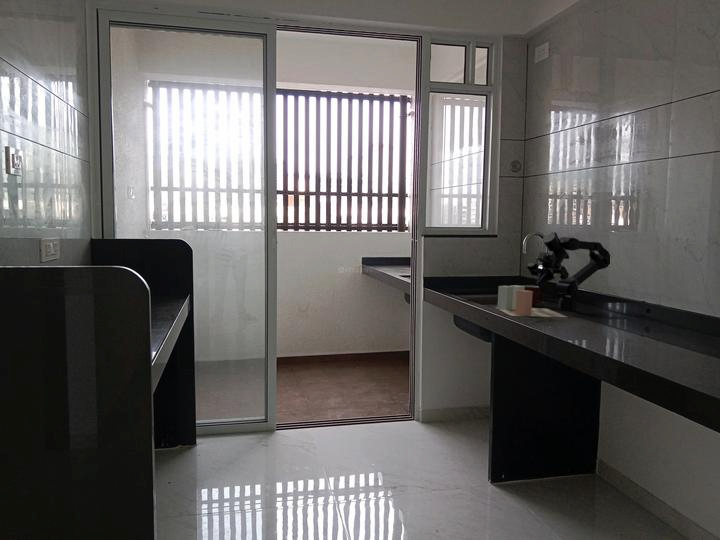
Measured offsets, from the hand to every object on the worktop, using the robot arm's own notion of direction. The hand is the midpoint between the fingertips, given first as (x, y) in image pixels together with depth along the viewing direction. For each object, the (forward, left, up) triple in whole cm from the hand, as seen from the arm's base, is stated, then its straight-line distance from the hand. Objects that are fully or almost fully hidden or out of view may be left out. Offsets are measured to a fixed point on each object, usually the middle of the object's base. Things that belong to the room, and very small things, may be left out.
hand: (537, 284), depth 241 cm
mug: (-5, -19, -13) cm, 24 cm away
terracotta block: (+9, +9, -12) cm, 17 cm away
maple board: (+3, 0, -13) cm, 13 cm away
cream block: (+6, -9, -12) cm, 16 cm away
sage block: (+12, -6, -12) cm, 18 cm away
